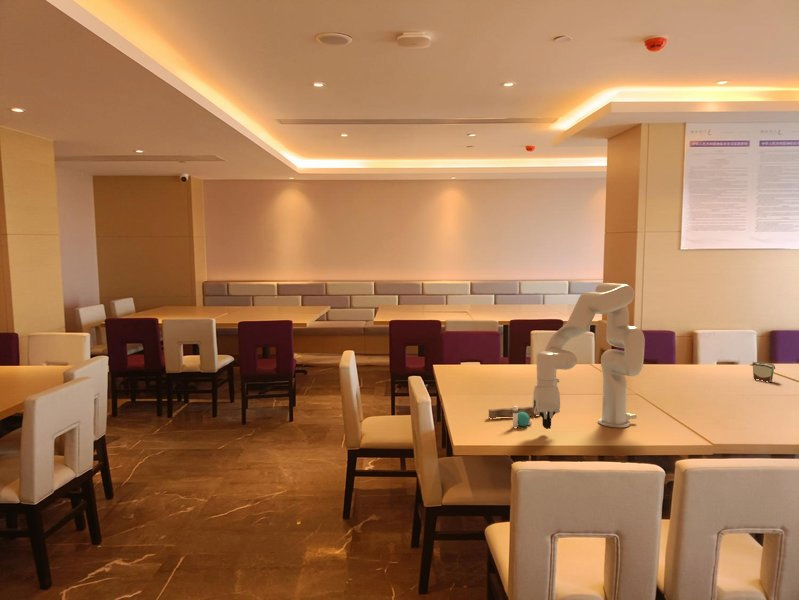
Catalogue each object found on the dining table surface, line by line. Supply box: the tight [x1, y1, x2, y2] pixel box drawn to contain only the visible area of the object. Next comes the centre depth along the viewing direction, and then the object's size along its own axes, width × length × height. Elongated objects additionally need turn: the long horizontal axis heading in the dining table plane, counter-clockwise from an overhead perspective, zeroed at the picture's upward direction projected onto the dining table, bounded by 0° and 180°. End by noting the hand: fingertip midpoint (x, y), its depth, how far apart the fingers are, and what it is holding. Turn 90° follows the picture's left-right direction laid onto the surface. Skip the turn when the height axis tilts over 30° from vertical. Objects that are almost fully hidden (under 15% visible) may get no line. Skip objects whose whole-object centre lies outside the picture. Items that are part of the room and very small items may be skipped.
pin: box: [512, 405, 519, 428], centre depth 226 cm, size 2×2×9 cm
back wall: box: [488, 406, 537, 418], centre depth 242 cm, size 24×2×4 cm, turn 102°
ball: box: [518, 412, 530, 427], centre depth 229 cm, size 6×6×6 cm
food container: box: [751, 361, 776, 383], centre depth 308 cm, size 12×6×10 cm, turn 22°
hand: (546, 427), depth 218 cm, fingers closed
